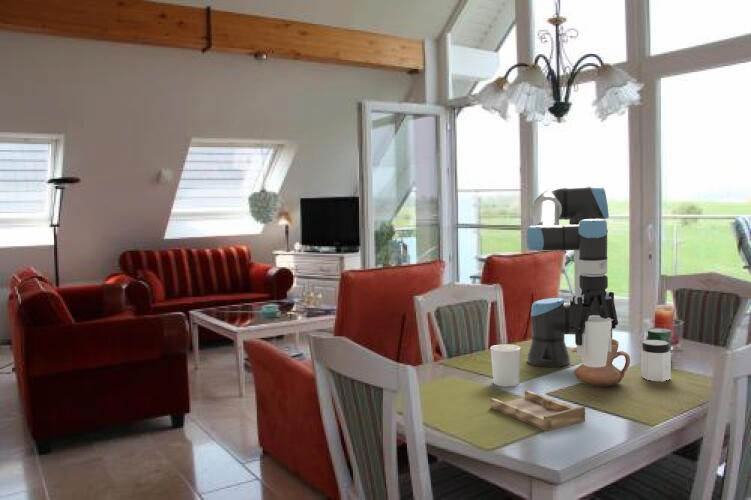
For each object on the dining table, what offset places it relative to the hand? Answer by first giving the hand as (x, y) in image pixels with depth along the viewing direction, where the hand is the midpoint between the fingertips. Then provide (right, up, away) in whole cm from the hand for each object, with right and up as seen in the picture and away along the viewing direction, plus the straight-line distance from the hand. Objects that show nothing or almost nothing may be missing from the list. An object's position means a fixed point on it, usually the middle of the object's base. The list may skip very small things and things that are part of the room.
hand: (594, 353), depth 182 cm
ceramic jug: (+11, -14, +27) cm, 33 cm away
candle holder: (-18, -15, +32) cm, 40 cm away
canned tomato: (+42, -11, +54) cm, 69 cm away
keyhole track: (-16, -17, +1) cm, 24 cm away
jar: (+31, -13, +31) cm, 46 cm away
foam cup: (0, -3, 0) cm, 3 cm away
